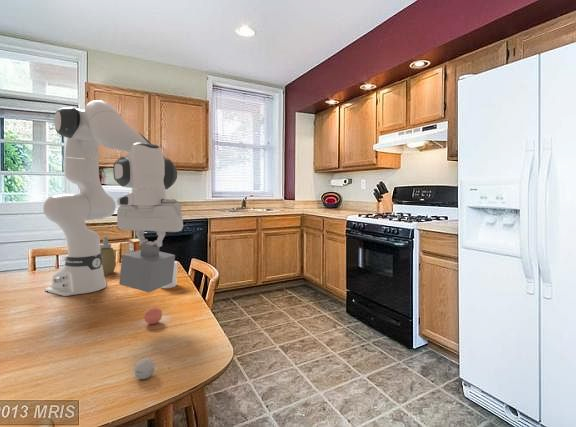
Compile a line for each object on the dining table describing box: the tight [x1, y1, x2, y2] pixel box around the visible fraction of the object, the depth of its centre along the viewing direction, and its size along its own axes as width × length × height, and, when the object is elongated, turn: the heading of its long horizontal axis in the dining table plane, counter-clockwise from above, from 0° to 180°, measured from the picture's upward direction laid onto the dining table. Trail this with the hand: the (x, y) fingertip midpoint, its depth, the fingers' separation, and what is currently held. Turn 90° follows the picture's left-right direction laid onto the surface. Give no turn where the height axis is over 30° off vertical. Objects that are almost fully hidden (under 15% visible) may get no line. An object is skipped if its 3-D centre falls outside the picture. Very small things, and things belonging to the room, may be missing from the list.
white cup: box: [160, 260, 178, 289], centre depth 131 cm, size 8×8×10 cm
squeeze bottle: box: [100, 235, 117, 275], centre depth 151 cm, size 8×8×18 cm
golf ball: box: [133, 358, 155, 380], centre depth 67 cm, size 4×4×4 cm
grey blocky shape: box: [118, 240, 176, 294], centre depth 92 cm, size 10×10×12 cm
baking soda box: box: [128, 238, 141, 253], centre depth 156 cm, size 10×6×16 cm
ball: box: [143, 306, 163, 325], centre depth 94 cm, size 5×5×5 cm
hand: (150, 246), depth 92 cm, fingers closed on grey blocky shape, 4 cm apart
